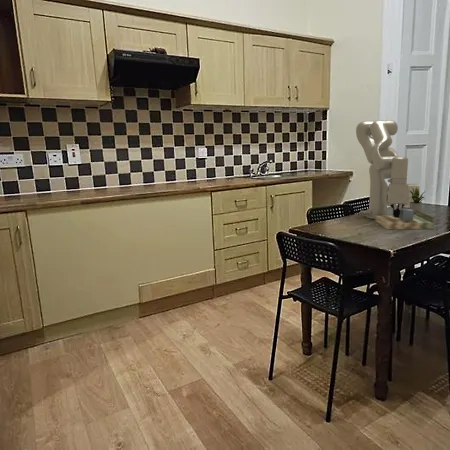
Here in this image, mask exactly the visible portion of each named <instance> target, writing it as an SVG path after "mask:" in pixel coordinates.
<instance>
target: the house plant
mask: <svg viewBox="0 0 450 450" xmlns="http://www.w3.org/2000/svg"><path fill="white" fill-rule="evenodd" d="M411 188H412V187H411ZM412 189H413V188H412ZM418 189H420V187H419V188H418ZM418 189H417V187H416V188H415V192H414V189H413V192H412V191H410V190H409V191H410V192H411V194H412V198H411V197H410V198H411V200H412V199H413V201H414V202H410V208H409V209H411V210H414V215H416V210H420V211H422V208H423V202H422V201H423V200H424V199H425V196H424V194H425V193H426V191H423V192H422V193H421V194H420V196H419V190H418Z"/></svg>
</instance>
